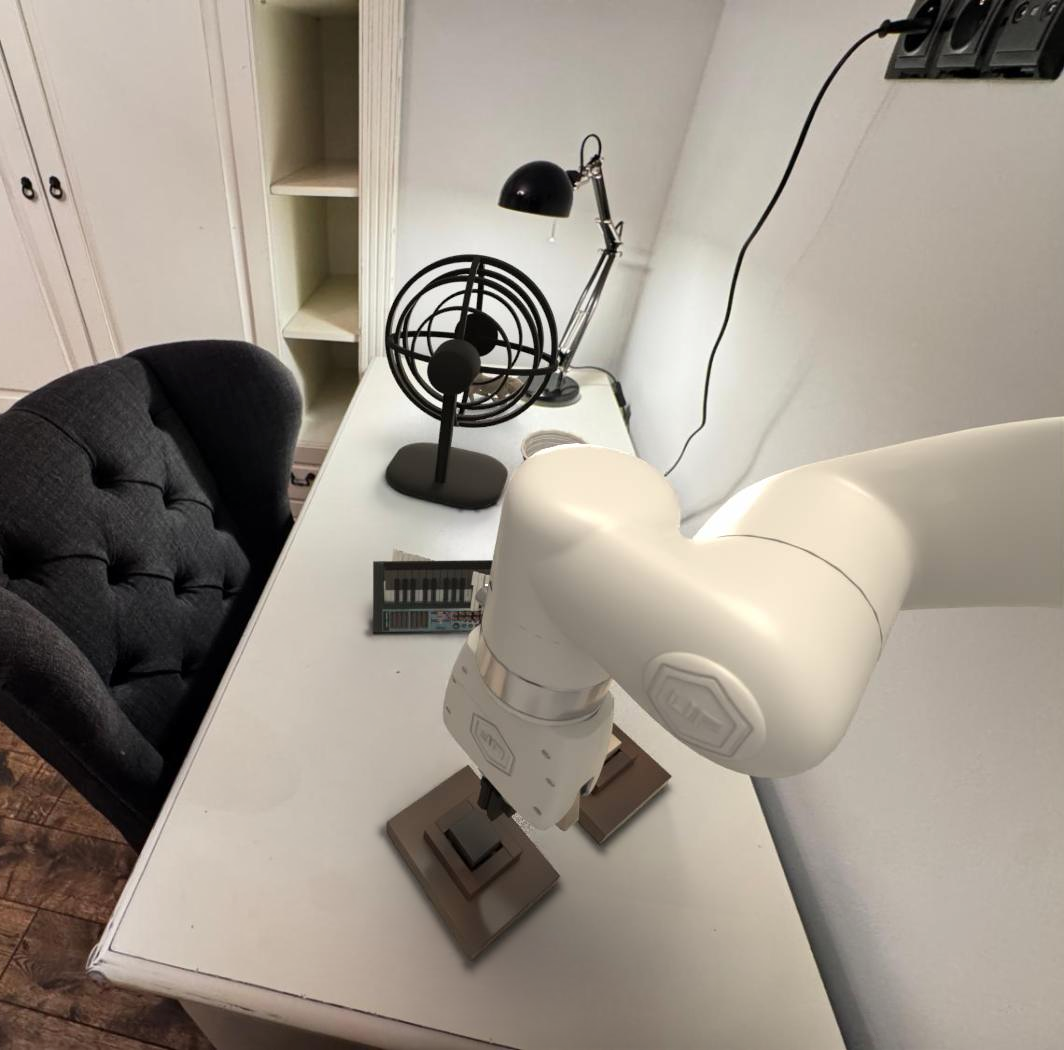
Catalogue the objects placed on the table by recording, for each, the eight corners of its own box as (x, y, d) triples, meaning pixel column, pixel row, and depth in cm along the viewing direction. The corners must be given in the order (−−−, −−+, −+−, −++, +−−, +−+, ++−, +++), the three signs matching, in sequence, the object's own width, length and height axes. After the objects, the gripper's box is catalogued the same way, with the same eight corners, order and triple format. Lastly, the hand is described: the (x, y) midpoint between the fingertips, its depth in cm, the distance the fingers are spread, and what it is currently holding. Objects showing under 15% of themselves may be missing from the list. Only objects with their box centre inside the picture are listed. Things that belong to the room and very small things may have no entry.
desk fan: (536, 466, 101) (586, 256, 79) (516, 524, 89) (569, 294, 66) (393, 434, 109) (402, 235, 87) (357, 484, 97) (356, 267, 74)
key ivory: (616, 751, 56) (622, 742, 55) (595, 768, 55) (600, 759, 54) (590, 726, 58) (595, 717, 57) (569, 742, 57) (574, 733, 56)
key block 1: (555, 884, 51) (565, 868, 48) (470, 961, 46) (477, 947, 44) (465, 774, 58) (470, 755, 56) (385, 831, 54) (387, 812, 51)
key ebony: (498, 847, 50) (502, 838, 48) (471, 869, 48) (473, 861, 47) (474, 815, 52) (476, 806, 51) (447, 835, 50) (449, 827, 49)
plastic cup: (508, 529, 88) (523, 465, 80) (506, 488, 96) (519, 426, 88) (581, 536, 87) (602, 472, 79) (572, 494, 95) (591, 432, 87)
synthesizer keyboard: (558, 555, 70) (555, 589, 62) (551, 625, 74) (547, 667, 65) (392, 537, 78) (367, 565, 69) (392, 601, 81) (369, 636, 72)
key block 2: (664, 786, 57) (678, 767, 55) (599, 845, 53) (611, 827, 51) (571, 699, 65) (580, 678, 62) (508, 744, 61) (514, 724, 58)
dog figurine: (463, 405, 118) (468, 371, 113) (467, 392, 122) (472, 360, 118) (522, 413, 116) (529, 379, 111) (524, 400, 120) (531, 367, 115)
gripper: (412, 600, 36) (402, 752, 47) (610, 800, 26) (537, 929, 38) (499, 555, 39) (470, 708, 50) (705, 717, 29) (610, 860, 41)
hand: (498, 802), depth 44 cm, fingers closed
